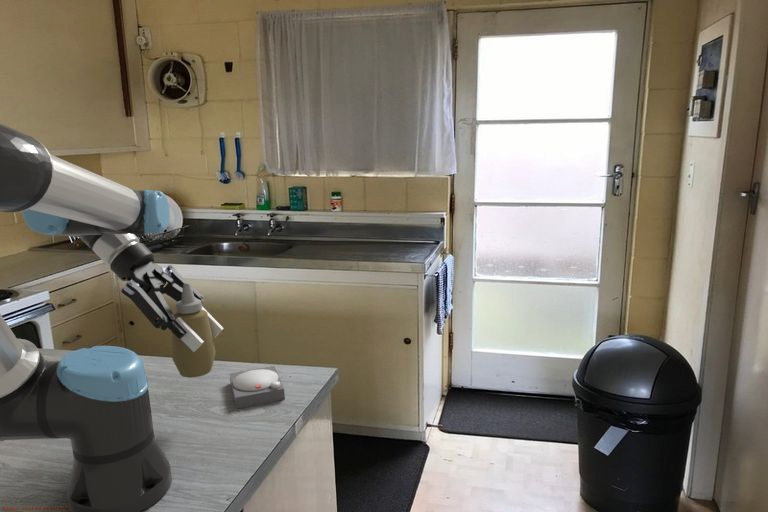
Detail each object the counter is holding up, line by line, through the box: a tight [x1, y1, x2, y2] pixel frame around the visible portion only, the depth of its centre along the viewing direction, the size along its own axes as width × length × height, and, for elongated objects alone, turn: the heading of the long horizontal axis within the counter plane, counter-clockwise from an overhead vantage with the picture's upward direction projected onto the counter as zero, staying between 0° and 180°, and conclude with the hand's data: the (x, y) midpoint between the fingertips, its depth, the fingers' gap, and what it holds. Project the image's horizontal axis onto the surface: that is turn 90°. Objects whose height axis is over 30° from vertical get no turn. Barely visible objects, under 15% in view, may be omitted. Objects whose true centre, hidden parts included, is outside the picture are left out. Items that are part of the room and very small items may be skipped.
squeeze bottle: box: [171, 282, 217, 379], centre depth 109 cm, size 8×8×18 cm
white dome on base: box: [229, 365, 286, 409], centre depth 123 cm, size 12×10×3 cm
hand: (209, 339), depth 109 cm, fingers closed on squeeze bottle, 6 cm apart
